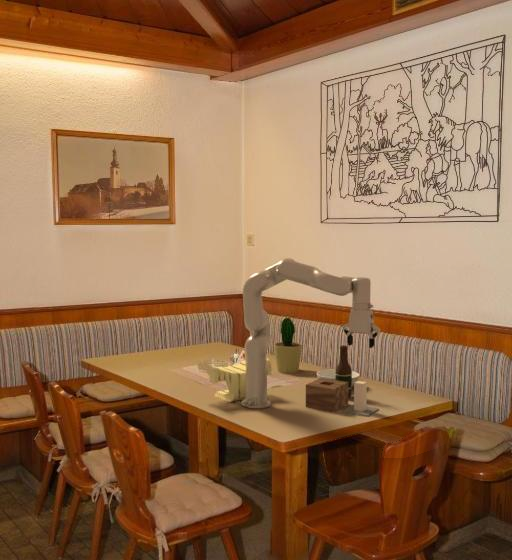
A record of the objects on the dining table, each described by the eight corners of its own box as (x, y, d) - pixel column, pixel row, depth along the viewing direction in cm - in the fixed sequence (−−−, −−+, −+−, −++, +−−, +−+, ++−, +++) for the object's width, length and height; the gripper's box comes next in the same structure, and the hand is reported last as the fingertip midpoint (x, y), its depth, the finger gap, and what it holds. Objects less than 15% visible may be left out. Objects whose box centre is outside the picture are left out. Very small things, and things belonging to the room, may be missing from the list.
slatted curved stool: (215, 406, 290) (214, 367, 289) (198, 398, 304) (198, 360, 302) (271, 396, 307) (271, 359, 305) (253, 389, 320) (253, 353, 318)
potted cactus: (301, 374, 350) (301, 319, 347) (272, 373, 352) (272, 318, 350) (303, 368, 365) (303, 314, 362) (276, 367, 368) (275, 314, 365)
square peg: (362, 411, 280) (362, 384, 279) (354, 410, 283) (354, 382, 282) (366, 409, 284) (366, 382, 283) (357, 407, 286) (358, 380, 285)
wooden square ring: (334, 411, 282) (334, 388, 281) (305, 406, 290) (305, 384, 289) (348, 404, 294) (348, 382, 293) (320, 399, 301) (320, 378, 301)
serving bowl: (358, 393, 312) (358, 379, 311) (314, 391, 316) (314, 377, 315) (360, 383, 332) (360, 369, 332) (318, 381, 336) (319, 367, 336)
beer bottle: (340, 393, 312) (341, 343, 309) (354, 396, 307) (355, 345, 304) (331, 397, 306) (332, 346, 303) (346, 399, 301) (346, 348, 298)
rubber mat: (367, 416, 275) (367, 415, 275) (341, 412, 281) (341, 411, 281) (378, 409, 285) (378, 408, 285) (353, 405, 292) (353, 404, 291)
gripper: (383, 307, 278) (383, 346, 279) (346, 304, 287) (345, 342, 289) (377, 309, 271) (376, 349, 273) (338, 306, 281) (338, 345, 282)
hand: (360, 346), depth 281 cm, fingers open, 9 cm apart
